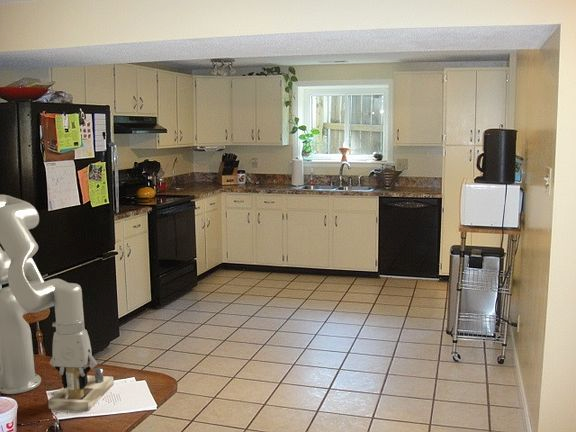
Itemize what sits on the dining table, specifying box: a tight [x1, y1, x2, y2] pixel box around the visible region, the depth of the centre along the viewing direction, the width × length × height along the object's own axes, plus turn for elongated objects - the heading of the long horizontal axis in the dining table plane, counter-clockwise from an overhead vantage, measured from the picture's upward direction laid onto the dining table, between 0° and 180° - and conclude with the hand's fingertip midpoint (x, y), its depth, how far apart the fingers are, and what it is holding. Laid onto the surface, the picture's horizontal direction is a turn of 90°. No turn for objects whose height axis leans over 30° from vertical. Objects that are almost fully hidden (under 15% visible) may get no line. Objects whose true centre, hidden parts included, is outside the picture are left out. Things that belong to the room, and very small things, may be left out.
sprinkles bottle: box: [66, 367, 84, 400], centre depth 179 cm, size 5×5×13 cm
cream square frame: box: [47, 366, 114, 412], centre depth 183 cm, size 12×17×6 cm
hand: (75, 386), depth 180 cm, fingers closed on sprinkles bottle, 4 cm apart
